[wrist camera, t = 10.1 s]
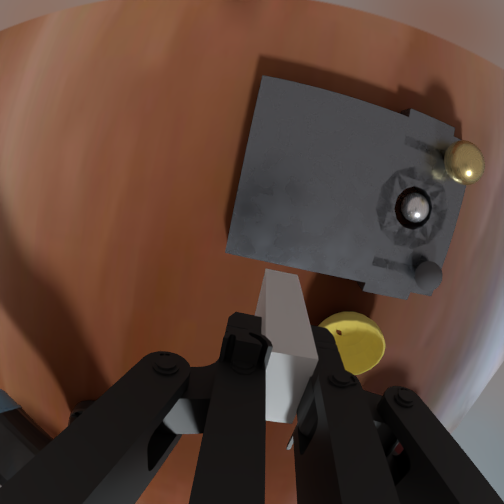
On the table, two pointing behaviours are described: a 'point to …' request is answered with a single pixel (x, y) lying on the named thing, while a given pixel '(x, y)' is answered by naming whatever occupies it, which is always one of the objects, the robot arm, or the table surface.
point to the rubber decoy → (428, 275)
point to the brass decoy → (464, 162)
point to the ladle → (356, 340)
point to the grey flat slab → (343, 188)
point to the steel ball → (415, 207)
